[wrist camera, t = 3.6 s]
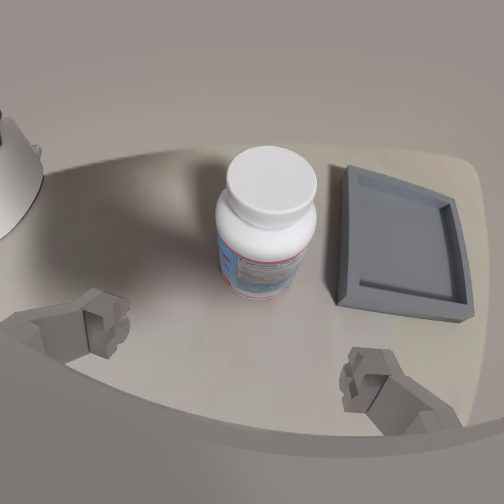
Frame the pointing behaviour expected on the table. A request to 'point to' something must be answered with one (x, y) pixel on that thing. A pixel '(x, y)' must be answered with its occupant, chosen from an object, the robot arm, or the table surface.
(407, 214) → the tray
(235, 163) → the pill bottle
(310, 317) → the table surface
